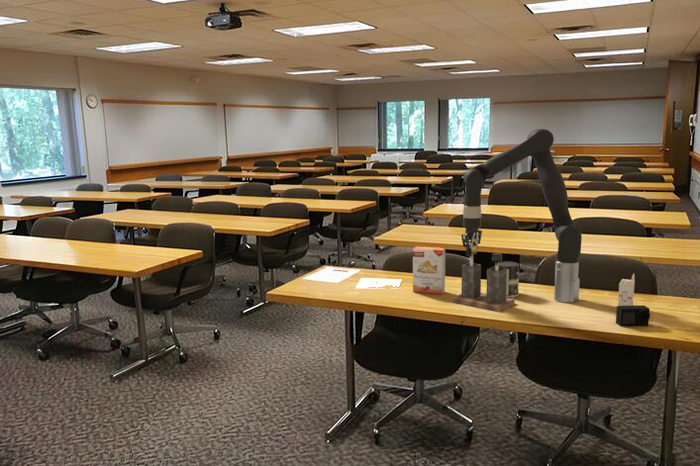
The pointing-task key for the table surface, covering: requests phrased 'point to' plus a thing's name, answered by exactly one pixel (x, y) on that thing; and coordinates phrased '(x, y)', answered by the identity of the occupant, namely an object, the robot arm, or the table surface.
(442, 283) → the cracker box
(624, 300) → the ink cartridge box
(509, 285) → the coffee can
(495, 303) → the stand
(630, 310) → the digital camera
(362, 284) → the paper sheet
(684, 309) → the table surface
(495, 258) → the plunger black
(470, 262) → the plunger brass
